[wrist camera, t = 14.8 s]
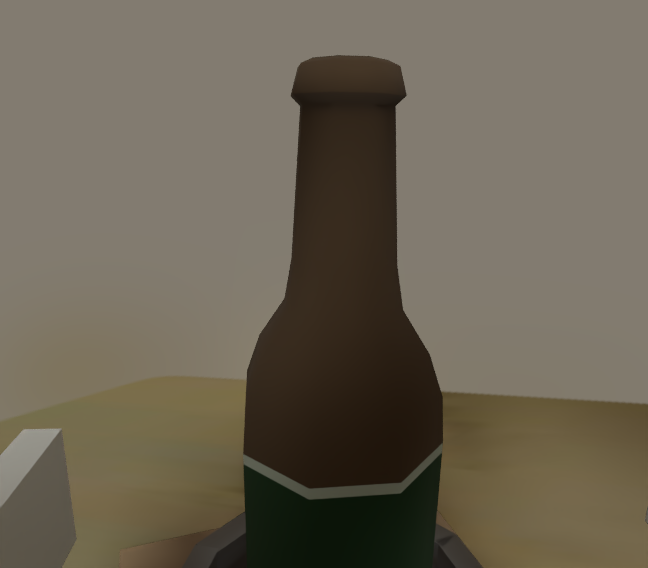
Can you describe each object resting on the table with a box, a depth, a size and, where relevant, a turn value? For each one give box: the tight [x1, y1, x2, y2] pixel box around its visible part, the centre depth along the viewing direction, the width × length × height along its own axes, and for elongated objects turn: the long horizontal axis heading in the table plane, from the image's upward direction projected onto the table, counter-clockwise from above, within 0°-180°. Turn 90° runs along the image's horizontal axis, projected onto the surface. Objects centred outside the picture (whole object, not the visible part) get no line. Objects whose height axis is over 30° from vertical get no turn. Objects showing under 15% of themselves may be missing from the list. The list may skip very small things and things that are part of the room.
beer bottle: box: [243, 55, 443, 568], centre depth 20 cm, size 8×8×24 cm
